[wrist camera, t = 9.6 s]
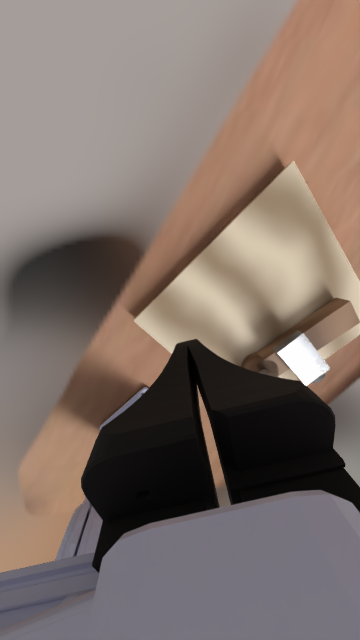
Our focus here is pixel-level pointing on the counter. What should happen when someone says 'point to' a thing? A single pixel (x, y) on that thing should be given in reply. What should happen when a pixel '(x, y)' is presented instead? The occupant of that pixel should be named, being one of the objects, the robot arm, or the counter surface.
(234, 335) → the board
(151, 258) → the counter surface
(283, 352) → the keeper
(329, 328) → the link
